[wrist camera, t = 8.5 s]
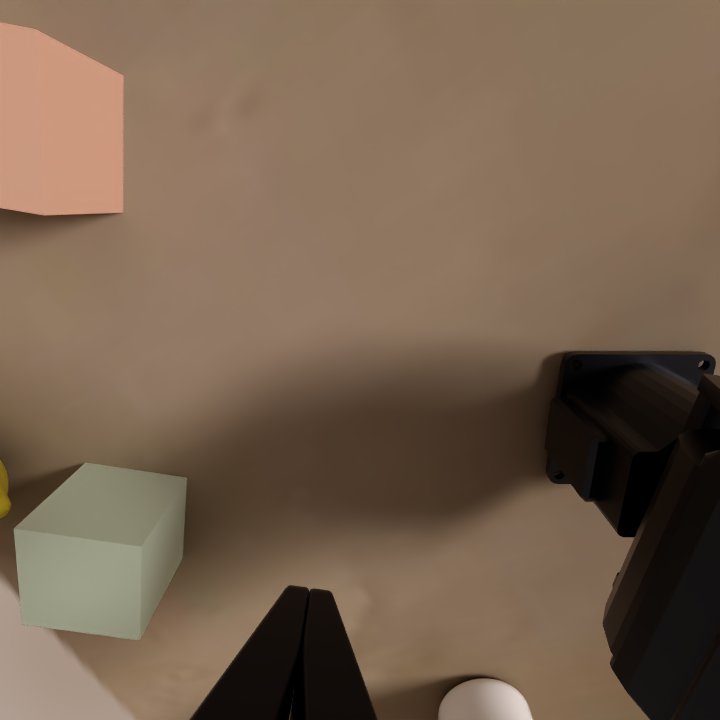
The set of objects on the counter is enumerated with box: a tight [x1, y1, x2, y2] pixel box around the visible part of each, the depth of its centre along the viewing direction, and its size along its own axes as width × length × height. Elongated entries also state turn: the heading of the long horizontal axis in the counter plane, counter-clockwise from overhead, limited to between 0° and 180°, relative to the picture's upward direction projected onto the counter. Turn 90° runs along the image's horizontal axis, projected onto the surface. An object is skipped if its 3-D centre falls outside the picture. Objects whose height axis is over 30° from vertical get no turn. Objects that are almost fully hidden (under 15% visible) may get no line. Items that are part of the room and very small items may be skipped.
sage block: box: [14, 463, 187, 640], centre depth 21 cm, size 5×5×5 cm
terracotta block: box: [0, 23, 123, 215], centre depth 16 cm, size 5×5×5 cm
